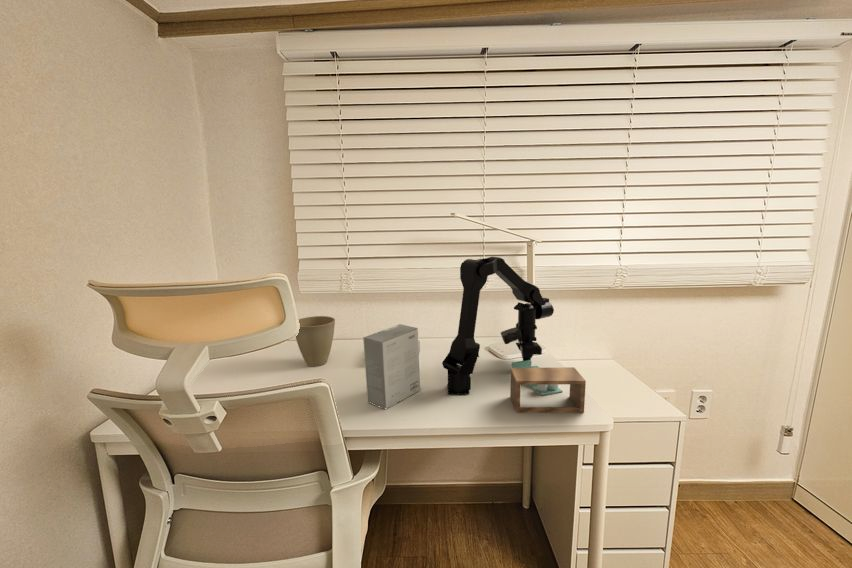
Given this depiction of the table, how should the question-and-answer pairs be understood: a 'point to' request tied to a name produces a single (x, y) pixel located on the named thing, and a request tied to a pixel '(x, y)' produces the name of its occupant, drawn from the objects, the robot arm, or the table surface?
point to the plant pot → (315, 339)
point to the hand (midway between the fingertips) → (525, 365)
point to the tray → (528, 363)
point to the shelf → (548, 377)
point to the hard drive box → (392, 365)
